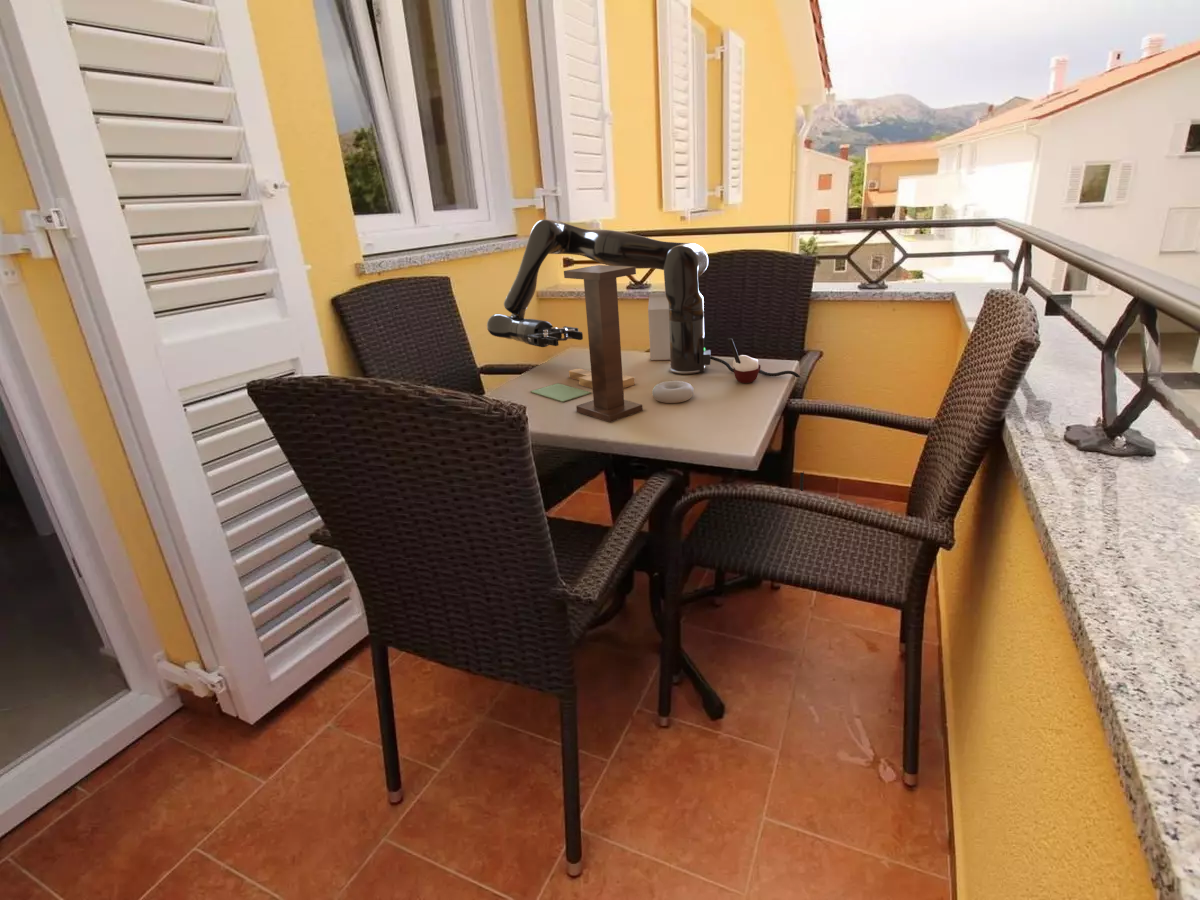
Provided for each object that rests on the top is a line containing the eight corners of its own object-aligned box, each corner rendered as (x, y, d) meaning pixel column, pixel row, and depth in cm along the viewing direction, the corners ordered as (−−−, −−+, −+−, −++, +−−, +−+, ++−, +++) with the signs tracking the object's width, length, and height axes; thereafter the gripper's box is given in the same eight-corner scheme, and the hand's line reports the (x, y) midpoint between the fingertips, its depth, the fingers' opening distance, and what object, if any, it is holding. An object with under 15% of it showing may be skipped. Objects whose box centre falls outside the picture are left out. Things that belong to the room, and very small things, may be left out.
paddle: (561, 380, 173) (560, 373, 172) (586, 372, 178) (586, 366, 177) (608, 393, 158) (608, 385, 158) (634, 384, 164) (634, 377, 163)
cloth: (530, 392, 164) (530, 391, 164) (558, 384, 169) (558, 383, 169) (562, 402, 154) (562, 401, 154) (591, 393, 159) (590, 392, 159)
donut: (689, 406, 145) (697, 392, 153) (689, 392, 143) (697, 378, 152) (647, 404, 148) (657, 391, 156) (646, 390, 146) (657, 378, 155)
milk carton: (674, 360, 184) (672, 294, 177) (650, 360, 185) (647, 295, 178) (676, 354, 190) (674, 290, 183) (653, 354, 192) (650, 291, 185)
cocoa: (758, 376, 162) (759, 330, 157) (766, 383, 156) (768, 335, 152) (722, 380, 161) (722, 334, 157) (729, 387, 156) (729, 339, 151)
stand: (576, 411, 146) (563, 270, 134) (608, 401, 152) (598, 265, 140) (610, 422, 138) (599, 273, 126) (643, 410, 144) (635, 266, 132)
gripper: (513, 324, 177) (547, 330, 165) (553, 315, 185) (588, 320, 174) (516, 350, 180) (550, 357, 168) (555, 340, 188) (590, 347, 177)
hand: (569, 339), depth 171 cm, fingers open, 8 cm apart
